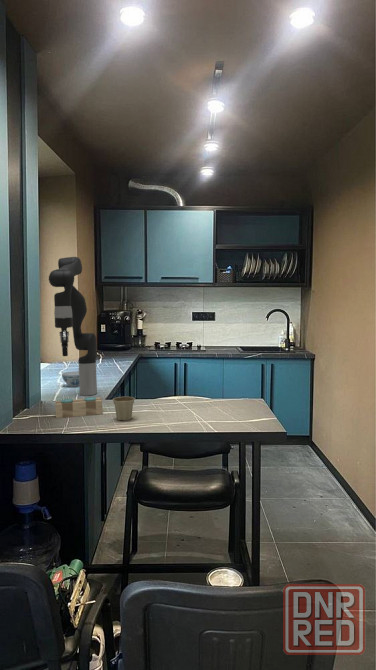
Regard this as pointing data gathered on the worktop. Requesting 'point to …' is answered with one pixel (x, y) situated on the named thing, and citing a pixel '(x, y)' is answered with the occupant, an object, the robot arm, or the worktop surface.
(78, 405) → the oak block
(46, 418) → the worktop surface
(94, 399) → the teal peg
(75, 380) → the chinaware
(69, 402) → the teal peg
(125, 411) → the flower pot
